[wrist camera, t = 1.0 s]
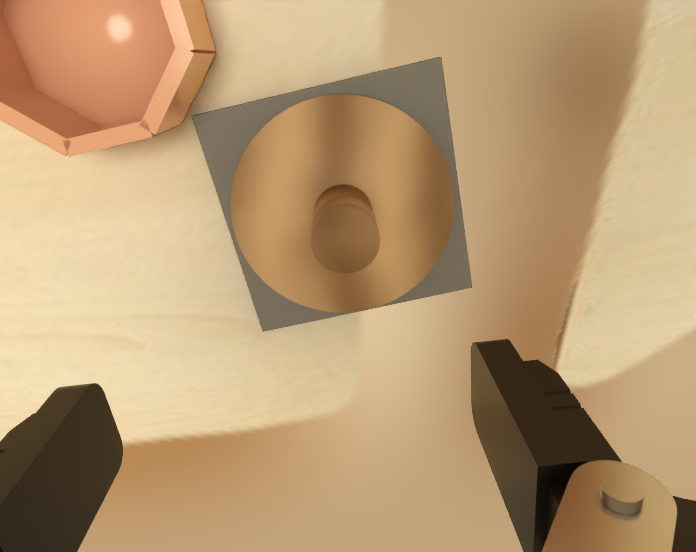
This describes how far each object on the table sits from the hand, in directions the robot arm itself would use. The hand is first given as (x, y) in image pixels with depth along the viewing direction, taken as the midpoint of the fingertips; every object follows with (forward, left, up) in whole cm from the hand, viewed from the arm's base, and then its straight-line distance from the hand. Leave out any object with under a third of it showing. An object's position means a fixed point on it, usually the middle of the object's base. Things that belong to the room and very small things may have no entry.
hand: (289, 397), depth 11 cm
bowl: (+9, -10, -21) cm, 25 cm away
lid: (-1, +2, -20) cm, 21 cm away
